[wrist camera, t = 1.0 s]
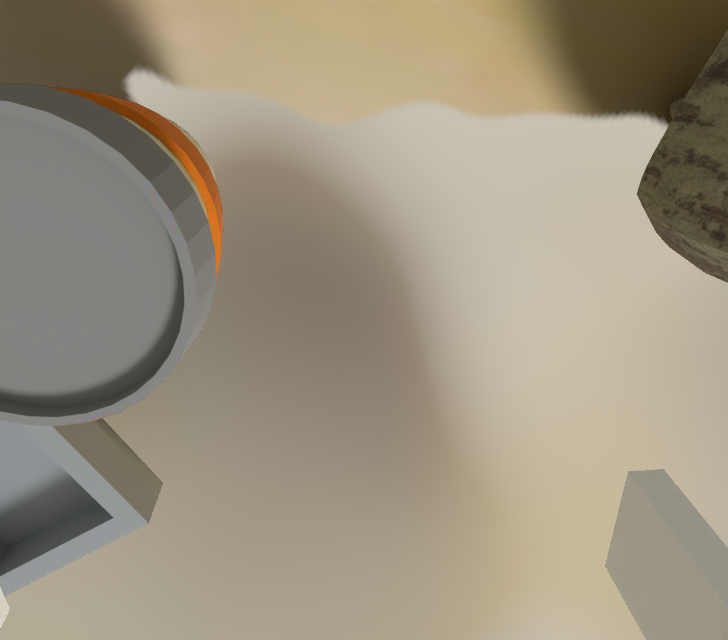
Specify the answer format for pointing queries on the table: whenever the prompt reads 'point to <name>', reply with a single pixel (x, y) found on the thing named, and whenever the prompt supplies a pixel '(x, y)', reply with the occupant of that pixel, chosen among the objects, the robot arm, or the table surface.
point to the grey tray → (66, 496)
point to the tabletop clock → (694, 171)
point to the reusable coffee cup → (98, 252)
